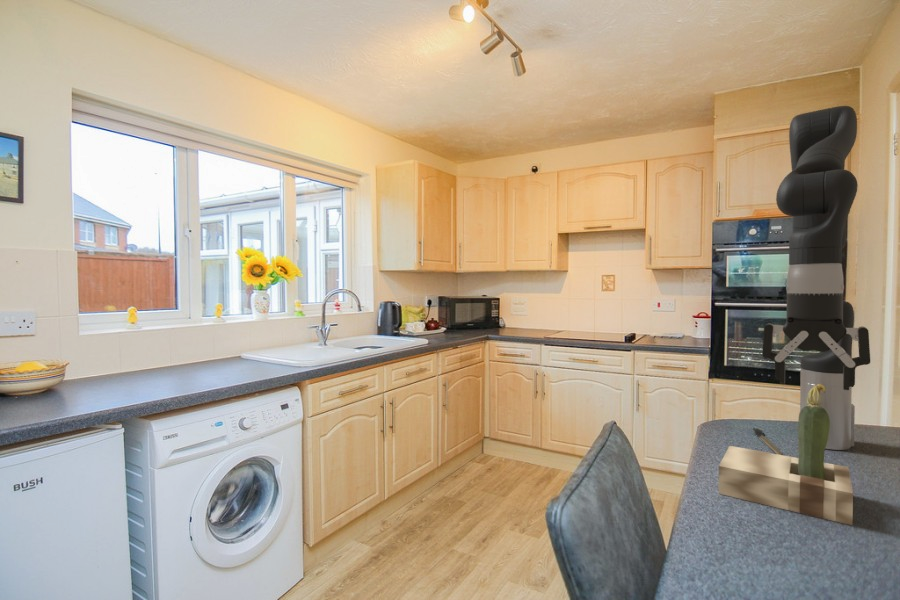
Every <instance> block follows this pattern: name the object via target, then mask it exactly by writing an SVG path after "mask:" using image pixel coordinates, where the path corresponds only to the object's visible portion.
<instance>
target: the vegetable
mask: <svg viewBox="0 0 900 600" xmlns="http://www.w3.org/2000/svg"><path fill="white" fill-rule="evenodd" d="M825 387H826V386H825ZM821 389H822V391H823V392H824V393H825V388H824V385H823V384H818V385H816V386H813V388H812V389H811V390H810V391H809V393H808V397H807V403H808V404H807V405H806V406H804V407H803V408H802V409H801V411H800V410H799V413H798V421H797V436H798V444H797V445H798V446H797V449H798V450H797V451H798V457H797V458H798V474H799V475H804V476H809V477H814V478H819V479H823V480H824V463H825V462H824V460H825V451H826V449H825V447H826V444H827V441H828V434H829V427H830V420H829V416H828V413H827V412H826V410H825V409H824V408H822V407H821V406H819V405H818V404H821V403H820V400H821V393H820V390H821Z"/></svg>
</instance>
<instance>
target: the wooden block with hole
mask: <svg viewBox="0 0 900 600" xmlns="http://www.w3.org/2000/svg"><path fill="white" fill-rule="evenodd" d="M849 468H850V467H849V466H845V465H839V464H833V463H827V462H824V480H823V479H819V478H814V477H809V476H804V475H799V474H798V457H795V456H790V455H789V456H788V455H785V454H783V455H778V454H775V453H774V452H773V453H772V452H768V451H761V450H755V449H750V448H744V447H740V446H739V447H738V446H733V445H729V446H728V447H727V450H726V451H725V454H724V455H723V457H722V459H721V461H720V463H719V465H718V495H723V496H728V497H731V498H736V499H740V500H744V501H749V502H753V503H757V504H762V505H765V506H770V507H774V508H778V509H782V510H786V511H790V512H794V513H799V514H801V515H807V516H810V517H813V518H814V517H815V518H818V519H823V520H828V521H833V522H837V523H841V524H845V525H849V526H853V517H854V516H853V513H854V512H853V511H854V510H853V509H854V506H853V505H854V491H853V487H852V480H851V476H850V469H849Z"/></svg>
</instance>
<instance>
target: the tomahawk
mask: <svg viewBox="0 0 900 600" xmlns="http://www.w3.org/2000/svg"><path fill="white" fill-rule="evenodd" d="M752 431H753V432H754V434H755V436H756V435H757V436H756V437H757V438H758V437H759V438H760V439H761V440H762V441H763V442H764V443H765V444H766V445H767V446H768V448H769V449H770V450H771V451H772V452H773V454H778V455H784V454H783V452H782V451H780V449H779V448H777V446H775V445H774V444H773V442H772V441H770V440H769V439H768V437H765V436H764V433H763V430H761V429H759V428H755V427H753V428H752ZM759 438H758V439H759ZM760 439H759V440H760ZM761 440H760V441H761ZM762 441H761V442H762ZM763 442H762V443H763ZM764 443H763V444H764ZM765 444H764V445H765ZM766 445H765V446H766ZM767 446H766V447H767Z"/></svg>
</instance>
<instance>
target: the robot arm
mask: <svg viewBox="0 0 900 600" xmlns="http://www.w3.org/2000/svg"><path fill="white" fill-rule="evenodd" d="M857 116H858V115H857V113H856V111H855V109H854V108H853V107H851V106H849V105H839V106H834V107H829V108H823V109H818V110H813V111H809V112H804V113H800V114H797V115H795V116H794V117H793V118H792V119H791V121H790V124H789V133H788V139H789V140H788V141H789V152H790V165H791V171H790V172H789V173H788V174H787V175H786V176H785V177H784V178H783V179H782V181H781V183H780V184H779V185H778V188H777V192H776V198H775V202H776V205H777V206H776V207H777V208H778V210H779V211H780V212H781V213H783V214H784V215H785V216H788V217H792V234H791V235H790V237H789V241H788V271H787V276H786V285H785V286H786V287H785V290H786V321H785V324H784V325H780V324H773V323H767V324H765V326H764V330H763V331H764V332H763V342H762V343H763V344H762V357H763V358H765V359H770V360H772V361H773V362H774V378H775V381H779V384H780V385H785V384H786V361H785V359H786V358H787V357H788V356H790V354H792V352H793V351H795V350H796V349H798V350H801V351H803V352H805V351H806V352H808V351H814V352H815V351H816V353H810V354H809V353H808V354H806V355H803V356H801V358H800V382H799V383H800V386H799V387H800V390H799V391H800V393H799V394H800V396H799V398H800V399H799V412H800V411H801V409H802V408H803V407H804V406H806V405H807V404H808V403H807V397H808V393H809V391H810V390H811V389H812V388H813V386H816V385H818V384H823V385H824V388H825V393H824V392H823V391H822V389H821V390H820V393H821V400H820V403H821V404H818V405H819V406H821V407H822V408H824V409H825V410H826V412H827V413H828V416H829V420H830V427H829V434H828V441H827V444H826V447H825V450H835V451H843V450H844V451H845V450H849V449H851V447H855V419H856V418H855V417H856V416H855V415H856V412H855V411H856V409H855V405H854V404H853V403H852V392H853V391H852V389H853V387H854V386H855V385H856V369H857V367H860V366H867V365H869V364H871V351H870V350H871V349H870V336H869V335H870V334H869V329H868V328H867V327H865V326H858V327H855V325H854V324H855V311H854V307H853V305H852V303H850V302H848V301H844V290H845V284H844V271H843V264H842V260H843V259H842V258H843V257H842V256H843V254H842V252H843V250H844V248H845V246H846V242H847V221H848V216H849V213H850V211H851V209H852V207H853V203H854V201H855V199H856V196H857V192H858V186H859V185H858V181H857V178H856V176H855V175H854V174H853V173H852V172H851V171H850V170H847V169H845V164H846V159H847V158H848V156H849V155H850V153H851V151H852V149H853V147H854V145H855V142H856V140H857V135H858V134H857V133H858V118H857ZM780 332H783V334H784V335H785V336H786V337H787V339H788V340H789V342H787V344H786V345H785V346H783V348H781V349H780V351H778V352H775V351H773V343H774V342H773V341H774V338H776V337H777V336H778V335H779V333H780ZM853 341H856V342H857V345H858V356H857V357H852V355H853V353H852V352H853V351H852V350H853ZM825 386H826V387H825Z"/></svg>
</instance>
